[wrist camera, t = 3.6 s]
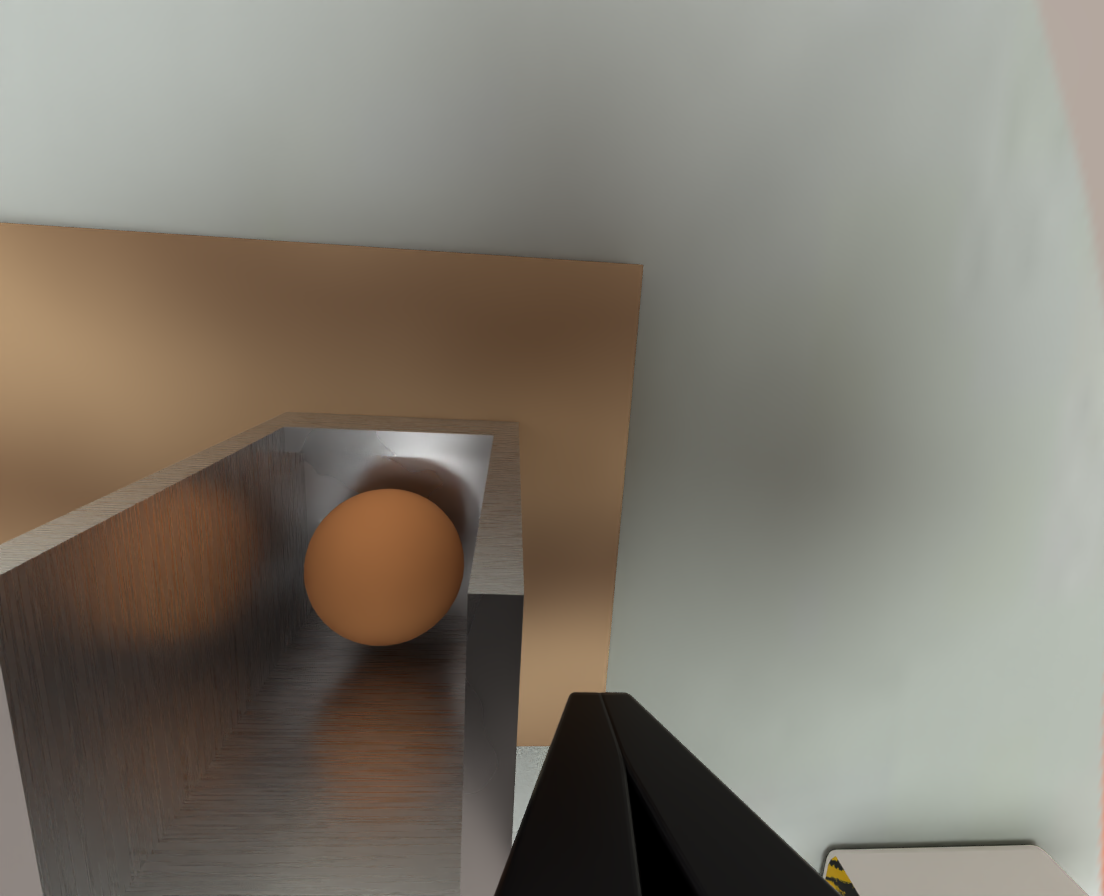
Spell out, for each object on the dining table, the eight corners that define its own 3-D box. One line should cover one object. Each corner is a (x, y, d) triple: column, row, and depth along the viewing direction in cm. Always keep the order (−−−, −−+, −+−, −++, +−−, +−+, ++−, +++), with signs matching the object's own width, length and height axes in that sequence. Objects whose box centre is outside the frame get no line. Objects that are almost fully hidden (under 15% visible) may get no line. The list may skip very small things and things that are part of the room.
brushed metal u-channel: (509, 624, 14) (503, 1012, 6) (297, 620, 14) (15, 1027, 6) (518, 421, 13) (523, 594, 5) (286, 411, 13) (-79, 581, 5)
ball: (467, 593, 13) (456, 681, 11) (333, 591, 13) (285, 680, 10) (470, 470, 13) (459, 529, 10) (326, 465, 12) (271, 524, 9)
